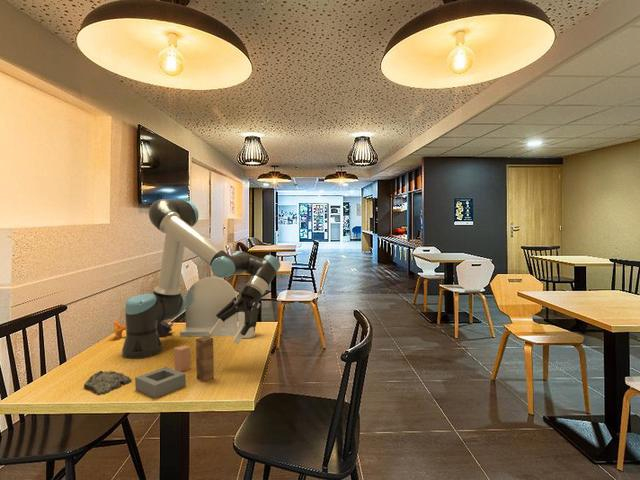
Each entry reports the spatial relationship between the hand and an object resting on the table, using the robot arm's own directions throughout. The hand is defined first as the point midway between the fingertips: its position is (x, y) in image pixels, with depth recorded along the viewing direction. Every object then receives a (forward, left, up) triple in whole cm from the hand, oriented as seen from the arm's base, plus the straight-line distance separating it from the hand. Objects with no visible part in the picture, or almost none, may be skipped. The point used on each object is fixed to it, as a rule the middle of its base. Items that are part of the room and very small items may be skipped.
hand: (223, 339), depth 137 cm
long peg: (-2, -7, -12) cm, 14 cm away
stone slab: (-27, -29, -13) cm, 41 cm away
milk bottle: (-25, +36, -13) cm, 46 cm away
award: (-43, +31, -13) cm, 54 cm away
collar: (-8, -20, -12) cm, 25 cm away
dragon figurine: (-66, +10, -13) cm, 68 cm away
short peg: (-16, -6, -12) cm, 21 cm away
